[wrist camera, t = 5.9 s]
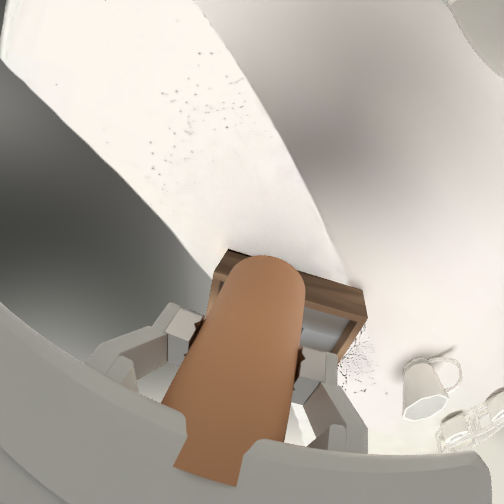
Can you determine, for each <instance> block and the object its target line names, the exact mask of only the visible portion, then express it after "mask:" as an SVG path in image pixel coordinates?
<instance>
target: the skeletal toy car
mask: <svg viewBox="0 0 504 504" xmlns="http://www.w3.org/2000/svg"><path fill="white" fill-rule="evenodd" d="M486 405H487V408H485V409H483V410H482V411H480V412H478V413H477V412H476V410H479V409H481V408H483V407H485V406H486ZM472 412H473V414H474V415H472V416H470V417H469V422H467V423H466V419H465V415H467V414H470V413H472ZM486 414H489V417H490V421H491V424H490V425H488V426H486V427H484V428H481V427H480V423H479V420H480V419H481V418H482V417H483V416H485V415H486ZM474 422H476V426H477V431H476V427H475V423H474ZM498 424H499V425H498ZM467 426H469V427H470V431H471V433H470V434H468V433H469V432H468V427H467ZM494 427H495V428H494ZM502 427H504V391H502V392H500V393H498V394H496V395H494V396H493V397H491V398H489V399H488V400H486V401H485V402H483V403H481V404H479V405H477V406H475V407H473V408H470V409H468V410H466V411H464V412H462V413H460V414H458V415H456V416H454V417H452V418H451V419H449V420H447V421H445V422H443V423H441V424H440V428H439V430H438V431H437V432H436V439H437V446H438V453H439V454H442V453H453V452H462V451H466V450H468V449H470V448H472V447H474V446H476V445H478V444H479V443H481V442H483V441H485V440H486V439H488V438H489V437H490V436H492V435H493V434H495V433H496V432H497V431H499V430H500V429H501V428H502ZM492 428H493V429H492ZM490 429H491V430H490ZM488 430H489V431H488ZM486 431H487V432H486ZM484 432H485V433H484ZM482 433H483V434H482ZM467 434H468V435H467ZM480 434H481V435H480ZM478 435H479V436H478ZM440 436H443V437H444V443H445V444H448V445H446V446H445V447H444V450H443V451H442V450H441V443H440ZM471 438H472V441H473V443H471V444H469V445H466V446H464V447H462V448H459V449H457V450H454V447H455V446H457V445H459V444H461V443H463V442H465V441H467V440H469V439H471ZM449 449H451V451H450V452H447V450H449Z"/></svg>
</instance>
